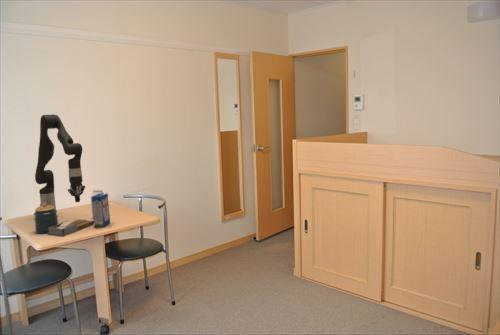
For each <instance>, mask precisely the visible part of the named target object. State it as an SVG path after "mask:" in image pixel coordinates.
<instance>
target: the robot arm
mask: <svg viewBox="0 0 500 335" xmlns="http://www.w3.org/2000/svg"><path fill="white" fill-rule="evenodd" d="M39 122H40V124H39V127H40V130H39V131H40V132H39V145H38V151H37V152H38V154H37V163H36V169H35V173H34V180H35V183H36V184H37V185H43V184H44V185H45V184H46V185H45V186H43V187H41V188H40V189H39V191H38V192H39V199H40V204H39V206H42V204H43V203H46V204H47V205H52V206H54V207H55V210H57V208H56V207H57V205H56V197H55V196H56V195H55V176H54V173H53V171H52V170H50V169H45V168H46V166H47V165H48V164H49V162H50V161H51V160H52V158H53V156H54V153H55V152H54V151H55V144H54V142H53V141H52V140H51V138H50V137H49V134H48V133H49V131H48V130H54V129H57V134H56V136H57V137H56V138H57V140H58V141H59V142H60V144H61V145H62V149H63V153H64V154H65V155H67V156H73V155H74V156H73V157H72V158H69V159H68V160H67V161H68V162H67V164H68V165H67V166H68V182H69V184H70V186H69V189H67V192H68V193H69V194H70V195H71V196H72V197H74V201H75V203H80V202H81V195H83V193H84V191H85V189H86V186H85V185H83V173H82V165H81V159H82V156H83V154H82V153H83V146H82V144H81V143H79V142H75V143H74V139H73V138H72V137H71V135H70V134H69V133H68V132H67V130H66V128H65V126H64V124H63V122H62V120H61V118H60V116H58V115H57V114H42V115H41V116H40V121H39Z"/></svg>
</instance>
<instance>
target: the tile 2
mask: <svg viewBox="0 0 500 335" xmlns="http://www.w3.org/2000/svg"><path fill="white" fill-rule="evenodd" d="M72 222H73V221H64V222H62V223H63V224H61V225H60V227H69V226H72V225H73V224H72Z"/></svg>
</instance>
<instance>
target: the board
mask: <svg viewBox="0 0 500 335" xmlns="http://www.w3.org/2000/svg"><path fill="white" fill-rule="evenodd" d="M71 222H72V224H73V225H74V224H77V230H78V231H81V230H83V229H87V228H89V227H91V226H94V220H87V219H76V220H74V221H71ZM78 231H77V232H78Z"/></svg>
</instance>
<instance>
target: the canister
mask: <svg viewBox="0 0 500 335" xmlns="http://www.w3.org/2000/svg"><path fill="white" fill-rule="evenodd" d="M57 212H58V210H57V209H56V210H55V207H54V206H52V205H47V204H46V203H43V204H42V206H40V205H39V206H37V207H36V208H35V209H34V213H33V215H34V224H35V225H34V226H35V228H34V229H35V232H36V233H37V234H48V227H51V226H54V225H57V224H59V221H58V220H59V219H58V215H57Z"/></svg>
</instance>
